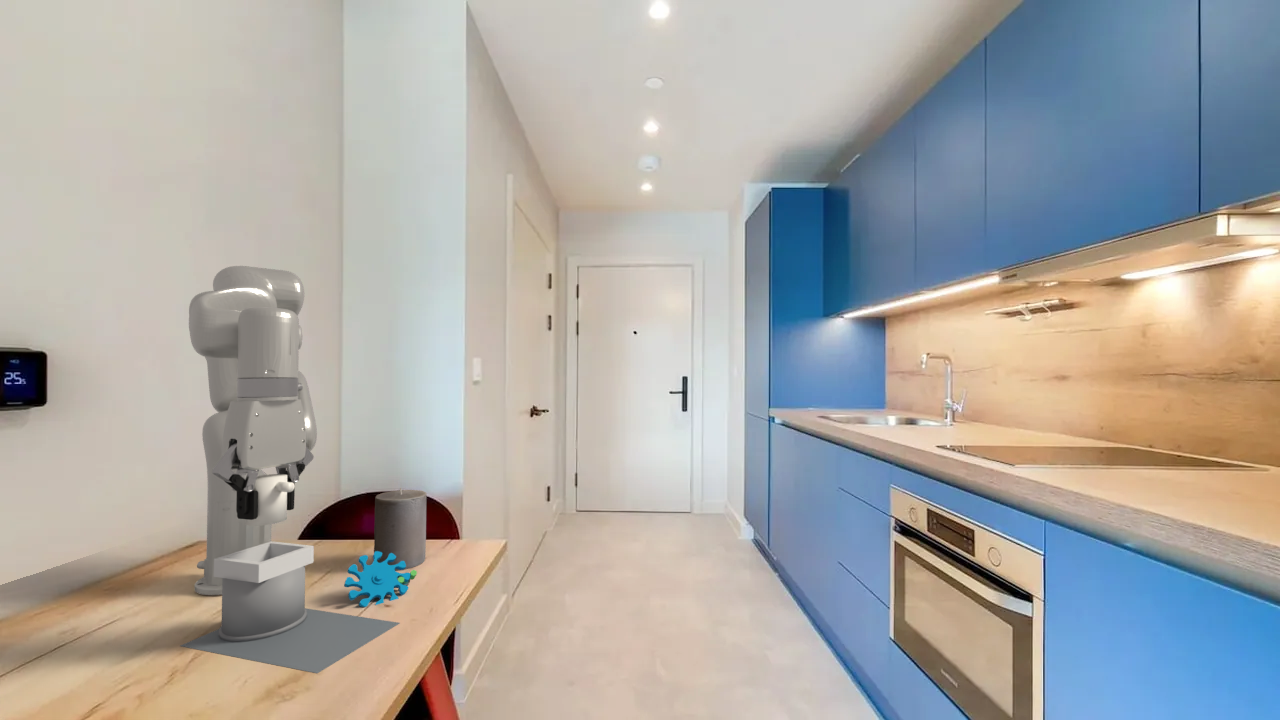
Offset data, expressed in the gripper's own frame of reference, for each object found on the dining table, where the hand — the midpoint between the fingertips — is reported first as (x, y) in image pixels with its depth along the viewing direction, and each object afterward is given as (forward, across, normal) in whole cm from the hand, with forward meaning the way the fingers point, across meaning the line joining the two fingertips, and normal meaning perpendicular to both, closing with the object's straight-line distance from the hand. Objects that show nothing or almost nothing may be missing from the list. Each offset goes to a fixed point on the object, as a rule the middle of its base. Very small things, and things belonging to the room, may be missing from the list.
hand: (266, 512), depth 79 cm
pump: (+1, 0, 0) cm, 1 cm away
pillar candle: (+17, -30, -2) cm, 35 cm away
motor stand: (+17, +1, +7) cm, 19 cm away
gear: (+18, -14, +8) cm, 24 cm away
